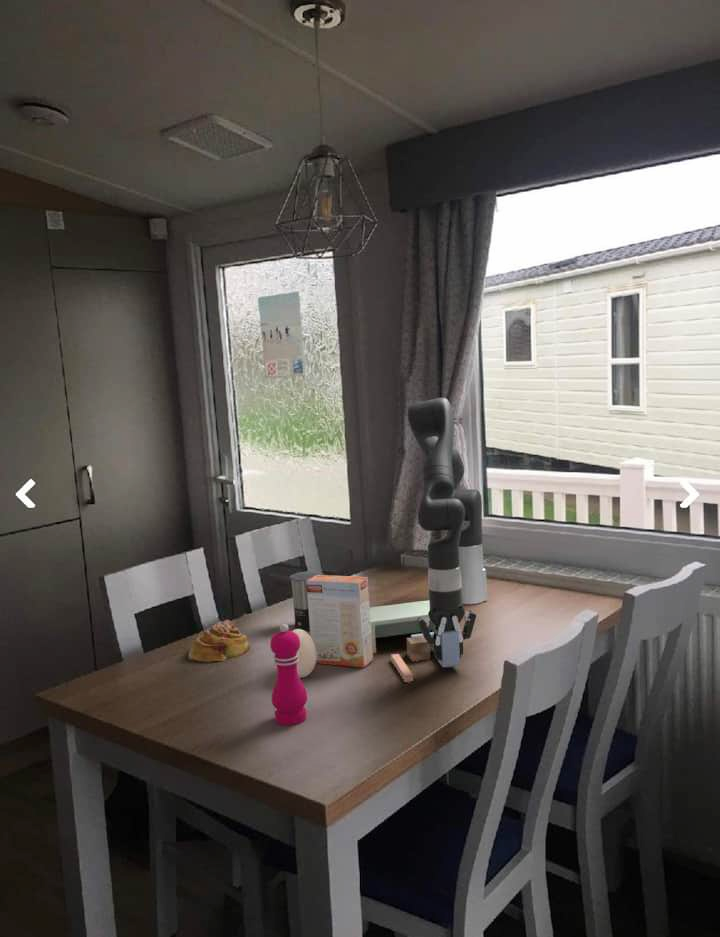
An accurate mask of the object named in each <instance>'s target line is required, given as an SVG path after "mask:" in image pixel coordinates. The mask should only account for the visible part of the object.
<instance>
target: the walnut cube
mask: <svg viewBox="0 0 720 937" xmlns="http://www.w3.org/2000/svg"><path fill="white" fill-rule="evenodd" d="M406 650H407V651H406V653H407V657H408V656H409V657H408V658H409V660H410V661H411V660H412V661H416V662H419V661H418V660H423V661H426V660H425V659H430V658H431V647H430V644H429V643H428V642H427V641H426V640H425V638H424V636H418V637H411V636H410V637H407V638H406ZM430 660H431V659H430ZM412 661H411V662H412Z"/></svg>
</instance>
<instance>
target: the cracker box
mask: <svg viewBox="0 0 720 937" xmlns="http://www.w3.org/2000/svg"><path fill="white" fill-rule="evenodd" d="M306 582H307V596H308V610H309V624H310V631H309V635H310V636H311V638H312V640H313V642H314V644H315V647H316V653H317V659H316V664H322V665H331V666H341V667H353V668H365V667H367V666H368V665H369V664H370V663H371V662H372V661H373V660H374V653H373V649H372V634H371V620H370V606H371V605H370V594H369V579H368V576H355V575H354V576H351V575H327V574H323V575H315V576H314V577H312V578H310V579H308V580H307V581H306Z"/></svg>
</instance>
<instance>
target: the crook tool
mask: <svg viewBox="0 0 720 937" xmlns="http://www.w3.org/2000/svg"><path fill="white" fill-rule="evenodd" d="M429 632H430V635H431V637H433V634H434V631H432V632H431V631H429ZM418 636H423V633H422V632H421V633H415V634H414V633H413V634H411V635H410V638H411V637H418ZM440 645H441V650H442V660H441V661H439V660H438V659H437V660H438V661H437V662H438V663H439V664H440V665H441V667H442V668H449V667H456V666H461V658H460V649H459V631H455V629H447V630H444V632H443V633H441V643H440ZM430 649H432V650H433V651H434V645H433V644H430Z"/></svg>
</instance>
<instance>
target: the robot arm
mask: <svg viewBox="0 0 720 937" xmlns="http://www.w3.org/2000/svg"><path fill="white" fill-rule="evenodd" d="M454 418H455V417H454V412H453V408H452V405H451V402H450V401H449V400H448V398H446V397H437V398H433V399H429V400H428V399H427V400H423V401H418V402H416V403H413V404H411V405H410V406H409V407H408V409H407V421H408V424H409V427H410V430H411V432H412V434H413V436H414V439H415V440H416V442H417V443H418V445H419V447H420V449H421V451H422V453H423V457H424V458H425V460H424V463H423V465H422V466H423V467H422V478H423V480H422V481H423V492H422V498H421V500H420V503H419V506H418V511H417V521H418V524H419V526H420V527H421V528H422V529H423V530H424V531H427V532H428V531H429V532H436V531H437V532H438V531H449V532H448V533H447V535H446V536H444V537H442V538H438V539H435V540H432V541H430V542H429V543H428V545H427V562H428V571H427V574H428V575H427V581H428V597H429V598H428V600H429V604H430V610H429V613H428V615H427V616H425V617H423V618H421V617H419V618H418V619H417V621H418V624H419V626H420V628H421V631H422V632H421V634H422V633H423V636H424V638H425V640H426V641H427V642H428V643H429V644H433V645H434V650H433V655H434V657H435V658H436V659H437V660H439V661H441V660H442V650H441V645H440V643H441V633H443V632H444V630H447V629H455V631H459V649H460V659H461V658H462V656H463V655H464V642H465V640H467V639H468V640H469V639H470V638H471V637H472V633H473V630H474V626H475V621H476V619H477V614H476V613H474V612H473V611H472V610H469V611H467V610H465V609H464V606H463V605H475V604H480V603H484V602H487V601H488V586H487V585H488V584H487V583H488V582H487V569H486V568H485V567H484V554H483V552H484V550H483V548H484V547H483V524H482V523H483V522H482V520H483V519H482V517H483V516H482V515H483V514H482V513H483V511H482V510H483V502H482V501H483V500H482V495H481V491H479V490H478V489H471V488H470V489H469V488H468V489H456V488H457V486H458V485H460V482H461V481H462V480H463V477H464V474H465V465H464V462H463V459H462V456H461V453H460V452H459V450H458V449H457V448H456V447H455V446H454V437H455V419H454ZM464 522H469V525H468V526H467V527H465V528H464V529H463V526H464ZM463 618H464V620H465V621H464V622H465V623H464V625H463V629H462V628H461V626H460V623H461V622H462V620H463ZM430 620H431V621H432V622H433V623H434V630H433V632H434V634H433V637H431V635H430V632H431V631H429V630H428V628H427V627H428V626H429V621H430Z"/></svg>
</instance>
